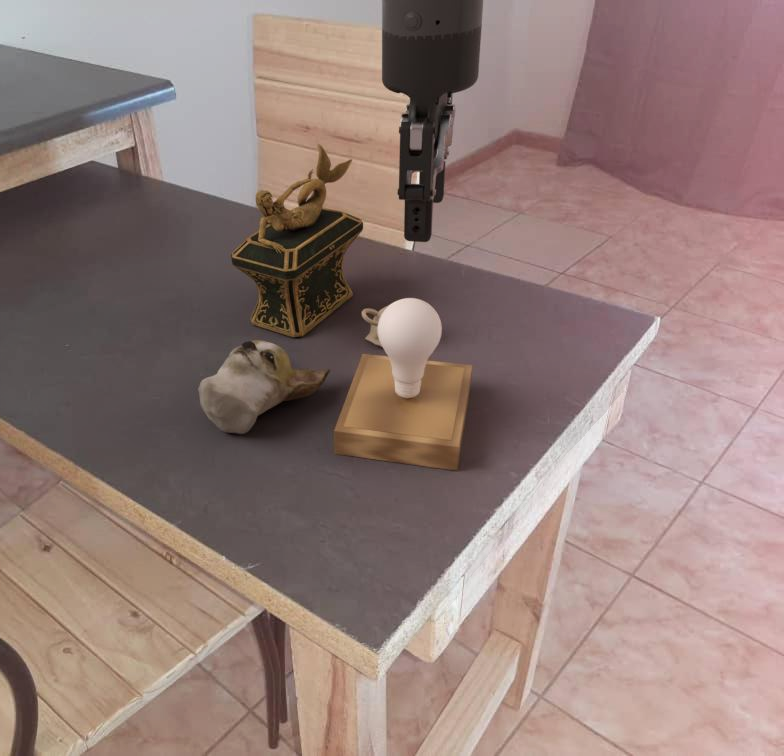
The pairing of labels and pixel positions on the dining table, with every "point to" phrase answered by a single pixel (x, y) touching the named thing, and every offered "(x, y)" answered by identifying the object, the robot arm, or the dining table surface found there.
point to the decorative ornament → (373, 324)
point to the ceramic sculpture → (254, 385)
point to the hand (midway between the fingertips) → (424, 219)
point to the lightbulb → (409, 341)
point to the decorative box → (299, 255)
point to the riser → (405, 415)
